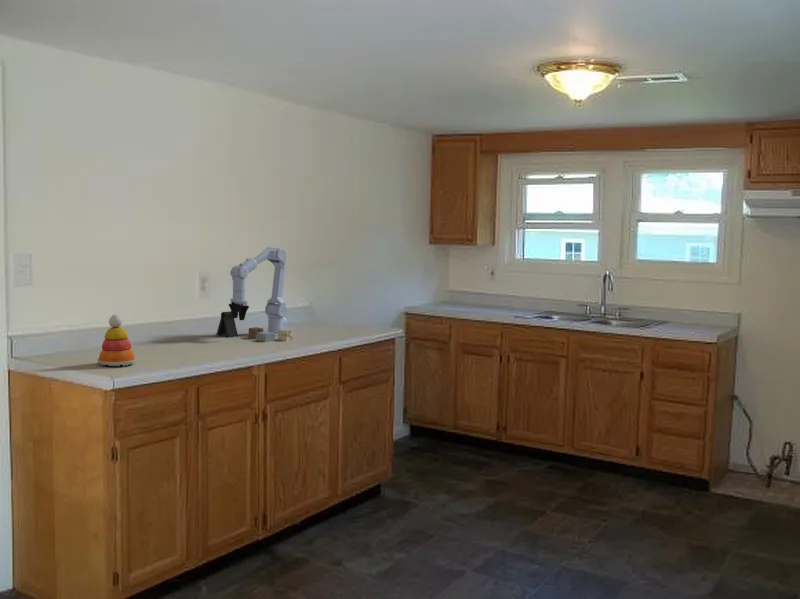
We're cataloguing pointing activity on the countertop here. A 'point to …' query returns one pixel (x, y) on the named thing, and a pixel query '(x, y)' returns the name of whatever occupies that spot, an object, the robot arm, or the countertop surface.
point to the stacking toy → (116, 345)
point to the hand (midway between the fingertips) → (238, 319)
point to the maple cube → (285, 335)
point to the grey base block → (265, 336)
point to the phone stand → (227, 325)
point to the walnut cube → (254, 332)
